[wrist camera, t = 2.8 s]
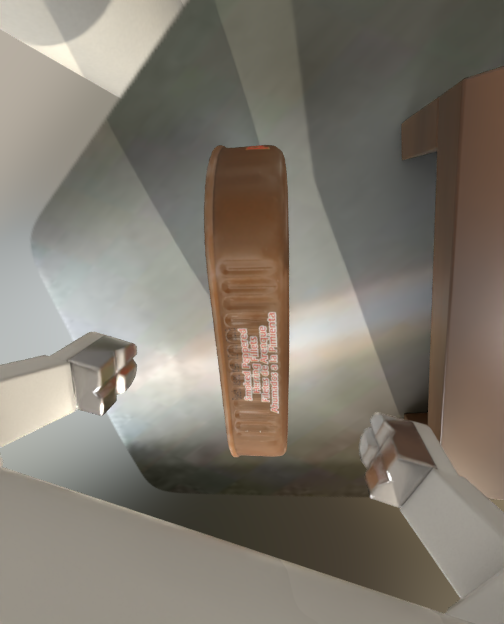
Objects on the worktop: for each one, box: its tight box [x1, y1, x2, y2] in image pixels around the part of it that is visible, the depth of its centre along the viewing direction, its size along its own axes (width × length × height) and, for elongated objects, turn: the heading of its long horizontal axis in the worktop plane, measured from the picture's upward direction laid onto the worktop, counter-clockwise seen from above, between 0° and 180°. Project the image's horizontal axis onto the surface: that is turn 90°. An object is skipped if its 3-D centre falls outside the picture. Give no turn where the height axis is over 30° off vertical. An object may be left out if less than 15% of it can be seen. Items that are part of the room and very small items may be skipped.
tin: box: [204, 145, 289, 457], centre depth 13 cm, size 15×3×8 cm, turn 3°
